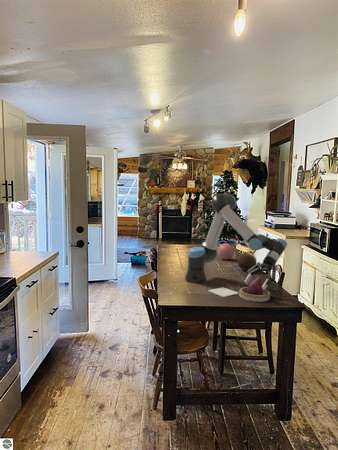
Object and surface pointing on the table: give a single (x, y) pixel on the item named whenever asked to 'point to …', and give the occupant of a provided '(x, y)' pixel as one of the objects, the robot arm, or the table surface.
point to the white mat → (223, 292)
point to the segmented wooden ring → (254, 297)
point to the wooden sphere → (246, 261)
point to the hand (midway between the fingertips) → (254, 285)
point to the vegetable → (255, 287)
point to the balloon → (226, 251)
